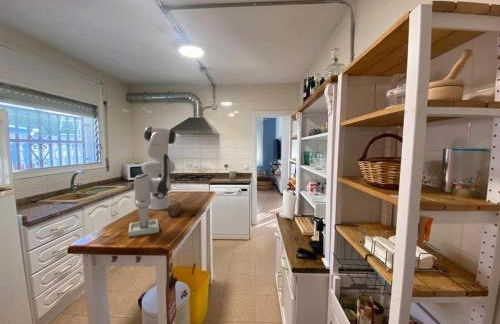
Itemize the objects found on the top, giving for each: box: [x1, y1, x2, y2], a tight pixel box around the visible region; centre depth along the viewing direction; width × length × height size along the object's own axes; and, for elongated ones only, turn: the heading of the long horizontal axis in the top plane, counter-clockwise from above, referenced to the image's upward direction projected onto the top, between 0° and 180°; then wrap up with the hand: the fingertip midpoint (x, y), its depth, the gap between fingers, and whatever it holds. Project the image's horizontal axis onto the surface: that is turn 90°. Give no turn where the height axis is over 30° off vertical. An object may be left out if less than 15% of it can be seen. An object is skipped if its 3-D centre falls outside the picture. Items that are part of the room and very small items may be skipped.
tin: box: [167, 201, 182, 217], centre depth 165 cm, size 15×3×8 cm, turn 168°
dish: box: [127, 218, 160, 238], centre depth 134 cm, size 16×16×3 cm
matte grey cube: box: [139, 218, 149, 229], centre depth 134 cm, size 4×4×5 cm
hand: (143, 223), depth 134 cm, fingers open, 6 cm apart
